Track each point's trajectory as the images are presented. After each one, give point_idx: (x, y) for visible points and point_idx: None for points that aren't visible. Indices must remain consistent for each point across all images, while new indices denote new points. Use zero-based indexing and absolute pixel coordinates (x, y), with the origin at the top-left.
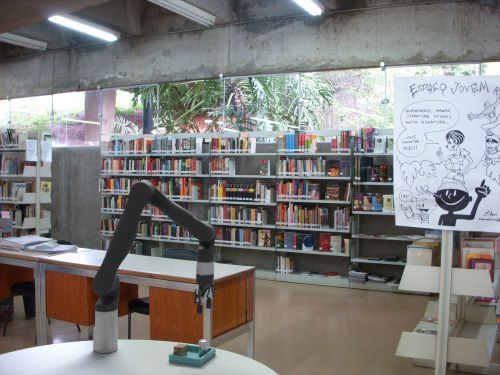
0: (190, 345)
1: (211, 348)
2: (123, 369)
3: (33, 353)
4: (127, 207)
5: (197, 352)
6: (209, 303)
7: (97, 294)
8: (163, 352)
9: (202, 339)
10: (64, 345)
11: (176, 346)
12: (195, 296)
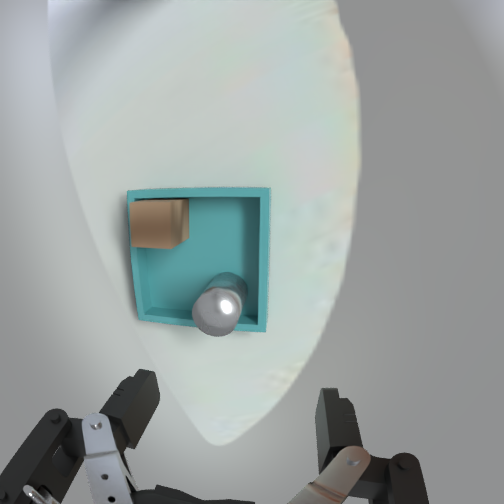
0: (260, 219)
1: (258, 318)
2: (61, 106)
3: None
4: None
5: (249, 255)
6: (320, 442)
7: None
8: (221, 112)
9: (228, 305)
10: None
11: (132, 215)
12: (24, 458)
